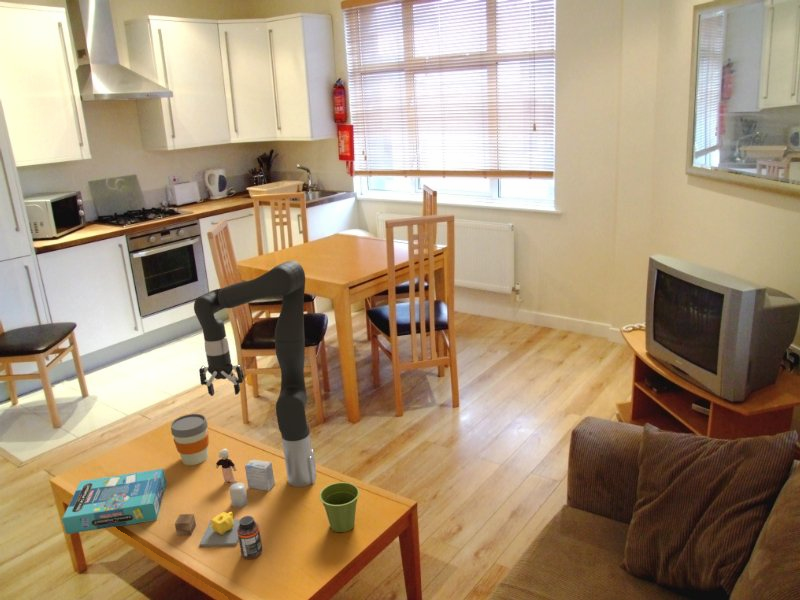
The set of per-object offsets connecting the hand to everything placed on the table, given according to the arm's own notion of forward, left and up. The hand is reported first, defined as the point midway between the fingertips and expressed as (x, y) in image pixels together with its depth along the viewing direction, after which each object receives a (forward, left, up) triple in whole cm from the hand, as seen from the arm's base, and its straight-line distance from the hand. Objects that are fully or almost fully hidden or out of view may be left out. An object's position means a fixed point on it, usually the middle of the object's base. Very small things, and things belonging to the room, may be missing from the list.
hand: (224, 394), depth 227 cm
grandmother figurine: (0, +10, -28) cm, 30 cm away
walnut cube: (+6, +35, -28) cm, 45 cm away
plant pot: (-42, +35, -28) cm, 62 cm away
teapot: (-6, +37, -28) cm, 46 cm away
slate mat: (-6, +37, -28) cm, 47 cm away
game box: (+19, +20, -25) cm, 37 cm away
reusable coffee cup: (+17, -6, -28) cm, 34 cm away
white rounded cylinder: (-7, +22, -28) cm, 36 cm away
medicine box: (-12, +13, -28) cm, 33 cm away
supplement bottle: (-17, +46, -28) cm, 57 cm away
